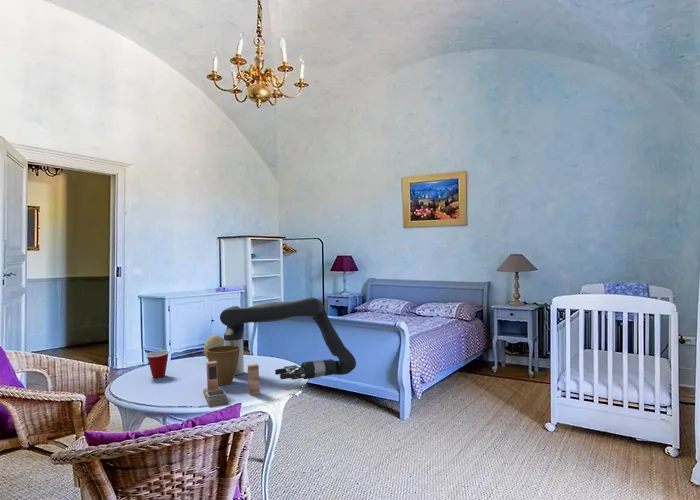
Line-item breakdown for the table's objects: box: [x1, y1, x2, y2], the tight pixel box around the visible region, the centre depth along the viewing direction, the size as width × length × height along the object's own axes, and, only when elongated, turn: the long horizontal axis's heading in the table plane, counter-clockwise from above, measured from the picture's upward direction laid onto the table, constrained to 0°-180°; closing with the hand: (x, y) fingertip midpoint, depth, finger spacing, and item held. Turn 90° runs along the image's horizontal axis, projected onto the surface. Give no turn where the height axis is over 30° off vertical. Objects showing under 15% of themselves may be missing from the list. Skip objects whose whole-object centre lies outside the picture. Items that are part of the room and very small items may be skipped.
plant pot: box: [207, 346, 240, 386], centre depth 214 cm, size 15×15×16 cm
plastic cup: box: [145, 349, 170, 378], centre depth 230 cm, size 11×11×12 cm
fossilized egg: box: [203, 334, 224, 360], centre depth 257 cm, size 13×13×15 cm
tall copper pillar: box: [247, 363, 261, 396], centre depth 197 cm, size 4×4×12 cm
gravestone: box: [202, 361, 228, 408], centre depth 192 cm, size 21×7×14 cm, turn 23°
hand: (277, 374), depth 201 cm, fingers open, 8 cm apart
